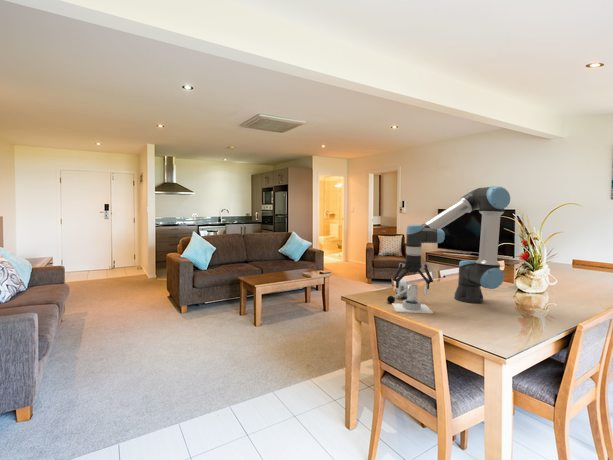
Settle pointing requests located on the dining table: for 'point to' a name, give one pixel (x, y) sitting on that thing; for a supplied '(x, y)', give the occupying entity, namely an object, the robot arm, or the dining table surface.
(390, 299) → the valve
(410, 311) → the duct panel
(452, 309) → the dining table surface
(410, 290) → the grey upright cylinder
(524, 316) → the dining table surface
